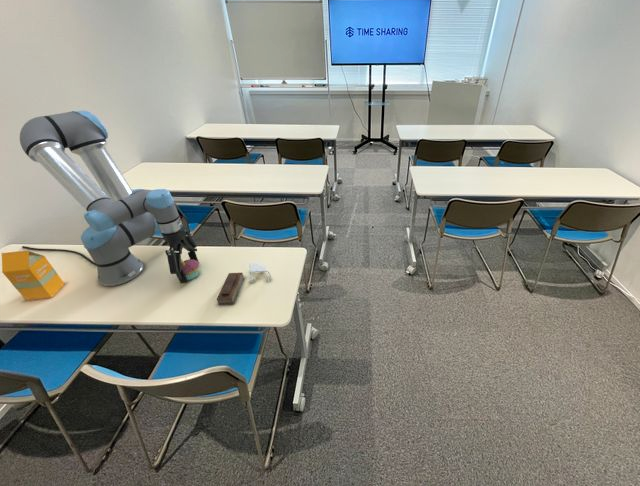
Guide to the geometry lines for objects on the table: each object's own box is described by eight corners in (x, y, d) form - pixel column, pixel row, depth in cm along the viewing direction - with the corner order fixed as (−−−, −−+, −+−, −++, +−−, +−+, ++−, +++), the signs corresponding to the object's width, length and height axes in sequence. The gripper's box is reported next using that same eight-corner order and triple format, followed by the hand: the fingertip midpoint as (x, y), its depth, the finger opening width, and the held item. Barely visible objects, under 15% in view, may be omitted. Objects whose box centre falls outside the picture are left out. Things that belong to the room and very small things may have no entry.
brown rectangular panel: (233, 304, 109) (231, 296, 107) (218, 304, 109) (215, 296, 107) (244, 278, 121) (241, 270, 119) (230, 278, 121) (228, 271, 119)
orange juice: (51, 297, 113) (19, 257, 103) (25, 300, 112) (-10, 260, 101) (65, 283, 120) (36, 244, 109) (40, 286, 118) (9, 246, 108)
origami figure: (242, 282, 119) (239, 273, 116) (251, 269, 126) (249, 260, 123) (269, 286, 117) (267, 277, 114) (278, 272, 124) (276, 263, 121)
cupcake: (193, 284, 118) (183, 261, 112) (175, 281, 120) (164, 258, 114) (206, 270, 126) (198, 247, 119) (189, 267, 127) (180, 245, 121)
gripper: (167, 246, 101) (187, 292, 112) (195, 213, 120) (209, 255, 132) (144, 247, 101) (167, 293, 112) (176, 214, 120) (193, 256, 132)
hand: (190, 273), depth 122 cm, fingers open, 10 cm apart
